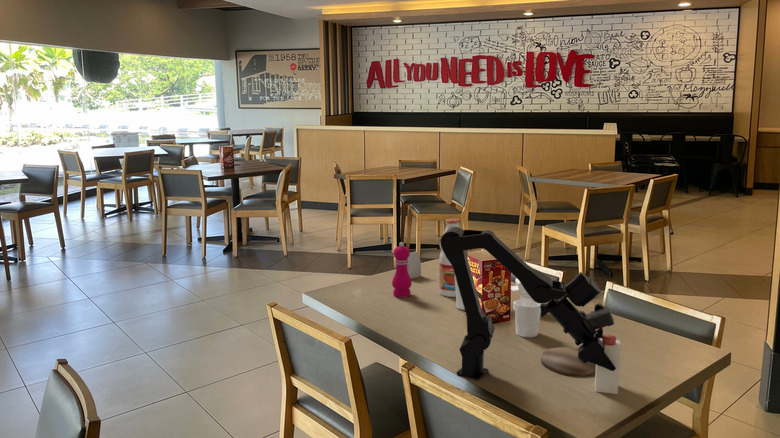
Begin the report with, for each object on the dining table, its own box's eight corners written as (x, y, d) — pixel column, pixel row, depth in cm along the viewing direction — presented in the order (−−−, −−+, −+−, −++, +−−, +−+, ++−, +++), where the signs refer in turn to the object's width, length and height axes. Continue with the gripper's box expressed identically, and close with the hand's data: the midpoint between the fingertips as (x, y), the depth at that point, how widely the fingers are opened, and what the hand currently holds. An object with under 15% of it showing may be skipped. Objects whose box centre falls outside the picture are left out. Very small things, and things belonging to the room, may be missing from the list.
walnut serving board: (592, 381, 160) (592, 376, 159) (532, 366, 168) (532, 362, 168) (608, 359, 173) (608, 354, 172) (552, 346, 181) (552, 343, 181)
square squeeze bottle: (617, 394, 153) (621, 342, 150) (595, 391, 154) (598, 340, 151) (616, 384, 157) (619, 334, 155) (594, 382, 159) (597, 332, 156)
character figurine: (540, 313, 209) (542, 279, 207) (512, 313, 209) (513, 279, 207) (535, 304, 218) (536, 271, 215) (508, 304, 218) (509, 271, 216)
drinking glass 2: (473, 311, 211) (473, 269, 208) (453, 310, 213) (453, 268, 210) (474, 305, 218) (475, 263, 215) (455, 304, 219) (455, 262, 216)
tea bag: (420, 275, 254) (420, 252, 252) (409, 279, 249) (409, 255, 247) (414, 274, 256) (414, 250, 254) (402, 277, 252) (402, 253, 250)
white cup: (521, 327, 197) (522, 296, 195) (544, 332, 192) (545, 301, 190) (509, 334, 191) (510, 303, 189) (532, 340, 186) (533, 308, 184)
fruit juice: (457, 288, 237) (457, 216, 231) (469, 295, 228) (470, 220, 223) (434, 291, 233) (435, 218, 228) (446, 298, 225) (447, 222, 219)
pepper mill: (389, 296, 228) (389, 243, 224) (395, 291, 234) (394, 239, 230) (408, 298, 226) (408, 244, 222) (413, 292, 232) (413, 240, 228)
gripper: (595, 310, 143) (643, 360, 143) (593, 286, 161) (636, 330, 160) (559, 338, 147) (605, 387, 146) (560, 312, 165) (602, 356, 164)
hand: (613, 364), depth 154 cm, fingers open, 7 cm apart
